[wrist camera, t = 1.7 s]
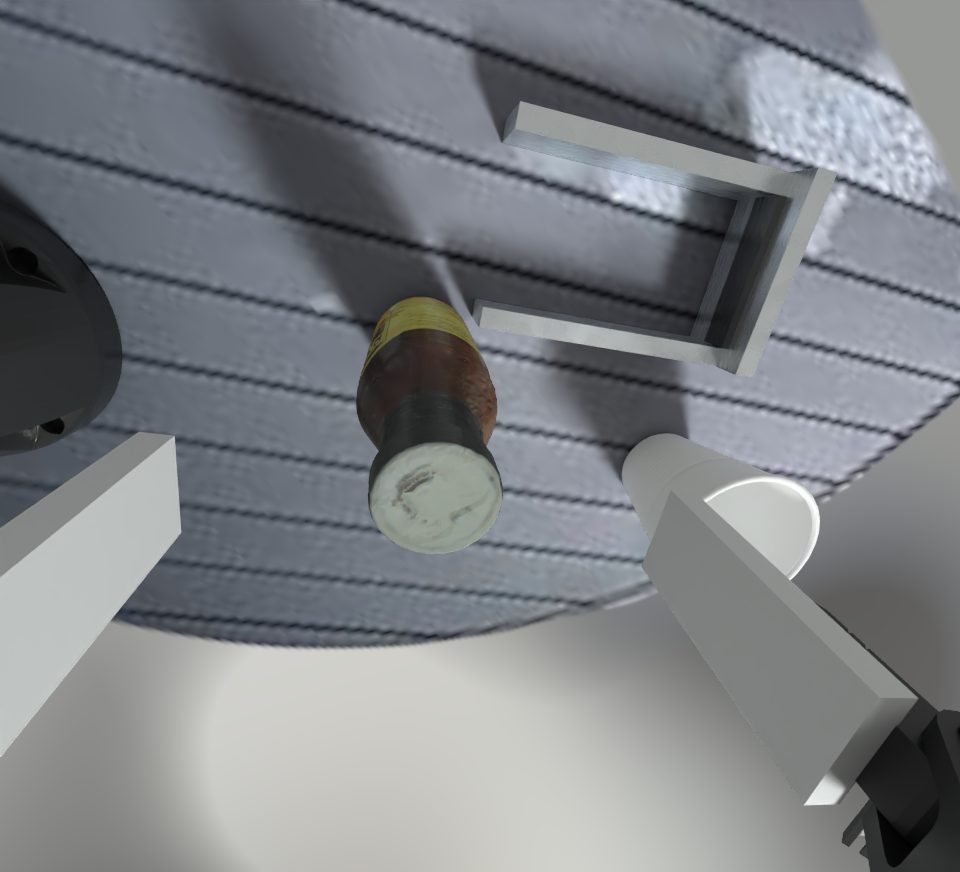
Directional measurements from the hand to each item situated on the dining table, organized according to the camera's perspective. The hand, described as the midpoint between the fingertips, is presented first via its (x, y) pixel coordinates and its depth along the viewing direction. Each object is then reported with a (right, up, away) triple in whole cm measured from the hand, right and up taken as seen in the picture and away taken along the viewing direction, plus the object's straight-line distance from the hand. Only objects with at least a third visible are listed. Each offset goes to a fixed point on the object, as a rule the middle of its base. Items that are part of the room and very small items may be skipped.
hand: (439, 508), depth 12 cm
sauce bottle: (-3, +8, +19) cm, 21 cm away
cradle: (+9, +14, +18) cm, 25 cm away
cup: (+15, 0, +25) cm, 30 cm away
